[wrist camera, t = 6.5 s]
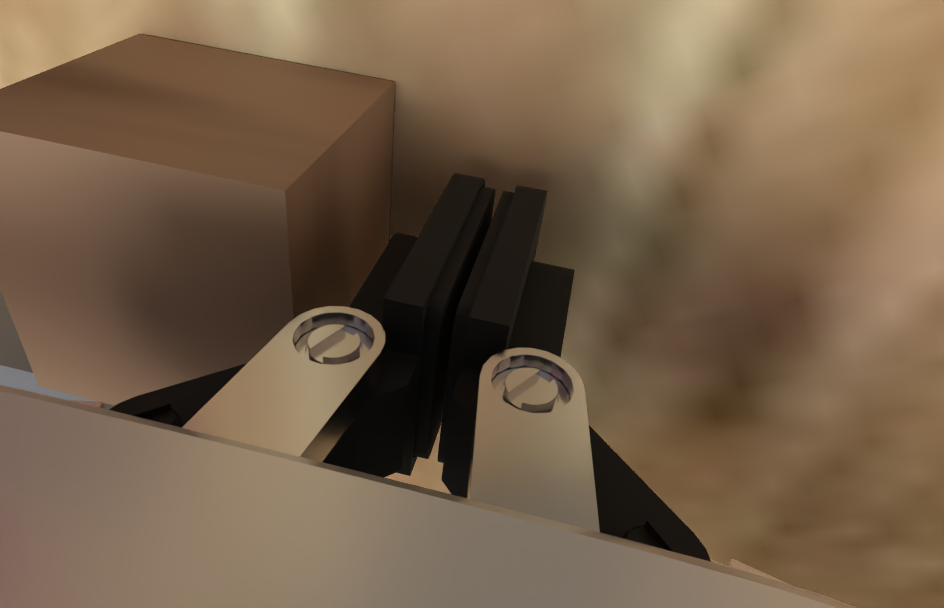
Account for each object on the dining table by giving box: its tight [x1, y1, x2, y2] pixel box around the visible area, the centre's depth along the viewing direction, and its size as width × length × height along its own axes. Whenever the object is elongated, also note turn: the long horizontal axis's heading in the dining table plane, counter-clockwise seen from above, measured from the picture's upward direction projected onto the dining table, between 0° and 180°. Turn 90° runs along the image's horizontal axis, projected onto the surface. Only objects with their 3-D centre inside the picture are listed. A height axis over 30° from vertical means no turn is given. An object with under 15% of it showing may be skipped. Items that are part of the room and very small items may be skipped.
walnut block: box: [0, 34, 395, 406], centre depth 12 cm, size 5×5×4 cm
